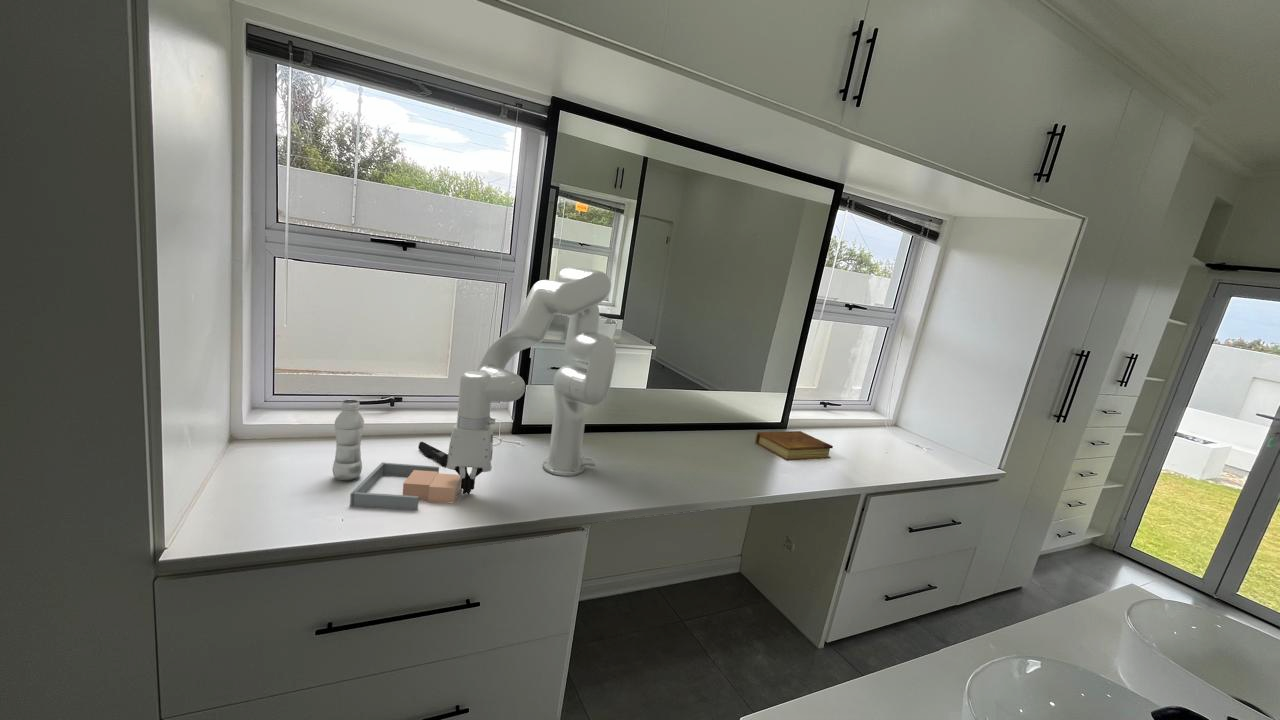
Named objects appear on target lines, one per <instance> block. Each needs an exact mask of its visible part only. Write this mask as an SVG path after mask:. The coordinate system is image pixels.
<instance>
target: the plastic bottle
mask: <svg viewBox="0 0 1280 720" xmlns="http://www.w3.org/2000/svg"><path fill="white" fill-rule="evenodd" d="M359 403H360V401H359V400H356V399H344V400H342V402H341V407H340V409H341V412H340V413H339V414H338V415H337V416H336V418H335V420H334V431H335V440H336V441H335V443H336V444H335V445H336V446H335V448H336V450H335V456H334V461H333V464H332V475H333V476H334V479H336V480H339V481H351V480H354V479H357V478H358V477H359V476H360V475H361V474H362V470H363V462H362V457H361V456H362V455H361V454H362V451H361V444H362V443H361V442H362V435H363V432H364V427H365V420H364V417H363V416H362V414H361V413H360V411H359V410H360V406H359V405H360V404H359Z"/></svg>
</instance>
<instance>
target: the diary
mask: <svg viewBox="0 0 1280 720" xmlns="http://www.w3.org/2000/svg"><path fill="white" fill-rule="evenodd" d="M754 443H755V444H756V445H757V446H759V447H761V448H763V449H764V450H766V451H768V452H770V453H772V454H774V455H775V456H777V457H779V458H781V459H783V460H784V461H787V462H789V461H805V460H806V461H807V460H808V461H809V460H825V459H831V456H829V455H830V451H831V449H833V447H834V446H833V445H832V444H829V443H827V442H825V441H823V440H821V439H818V438H816V437H814V436H812V435H810V434H807V433H806V432H803V431H801V430H800V431H799V430H797V431H796V430H795V431H794V430H791V431H789V430H788V431H787V430H786V431H758V432H757V433H756V435H755V441H754Z"/></svg>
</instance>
